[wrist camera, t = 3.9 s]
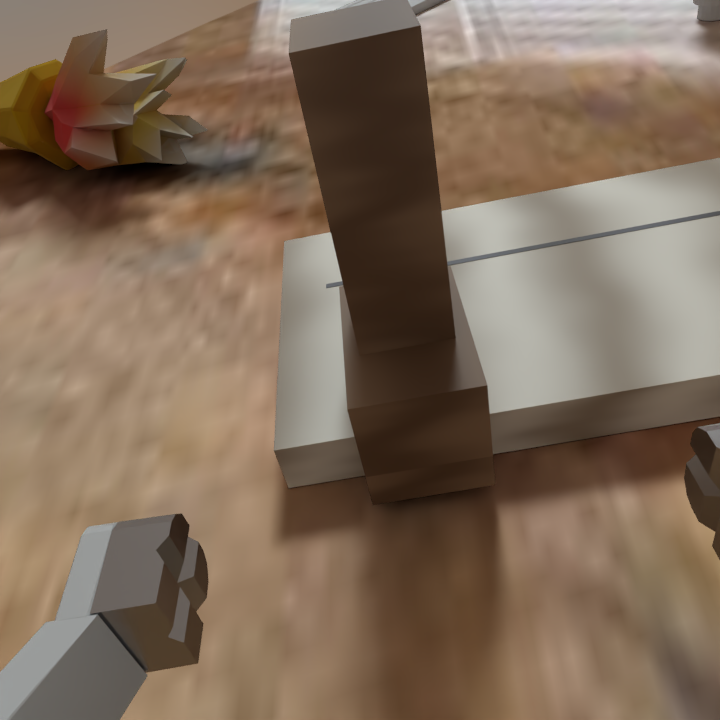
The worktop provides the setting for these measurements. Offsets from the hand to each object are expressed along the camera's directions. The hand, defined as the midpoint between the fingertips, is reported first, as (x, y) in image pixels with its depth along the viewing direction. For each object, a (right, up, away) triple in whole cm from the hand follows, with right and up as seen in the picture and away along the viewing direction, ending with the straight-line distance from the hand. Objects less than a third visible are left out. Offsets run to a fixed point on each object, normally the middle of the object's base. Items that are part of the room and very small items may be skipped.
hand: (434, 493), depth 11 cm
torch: (-23, +18, +44) cm, 53 cm away
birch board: (+8, +4, +18) cm, 20 cm away
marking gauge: (+1, +2, +16) cm, 16 cm away
